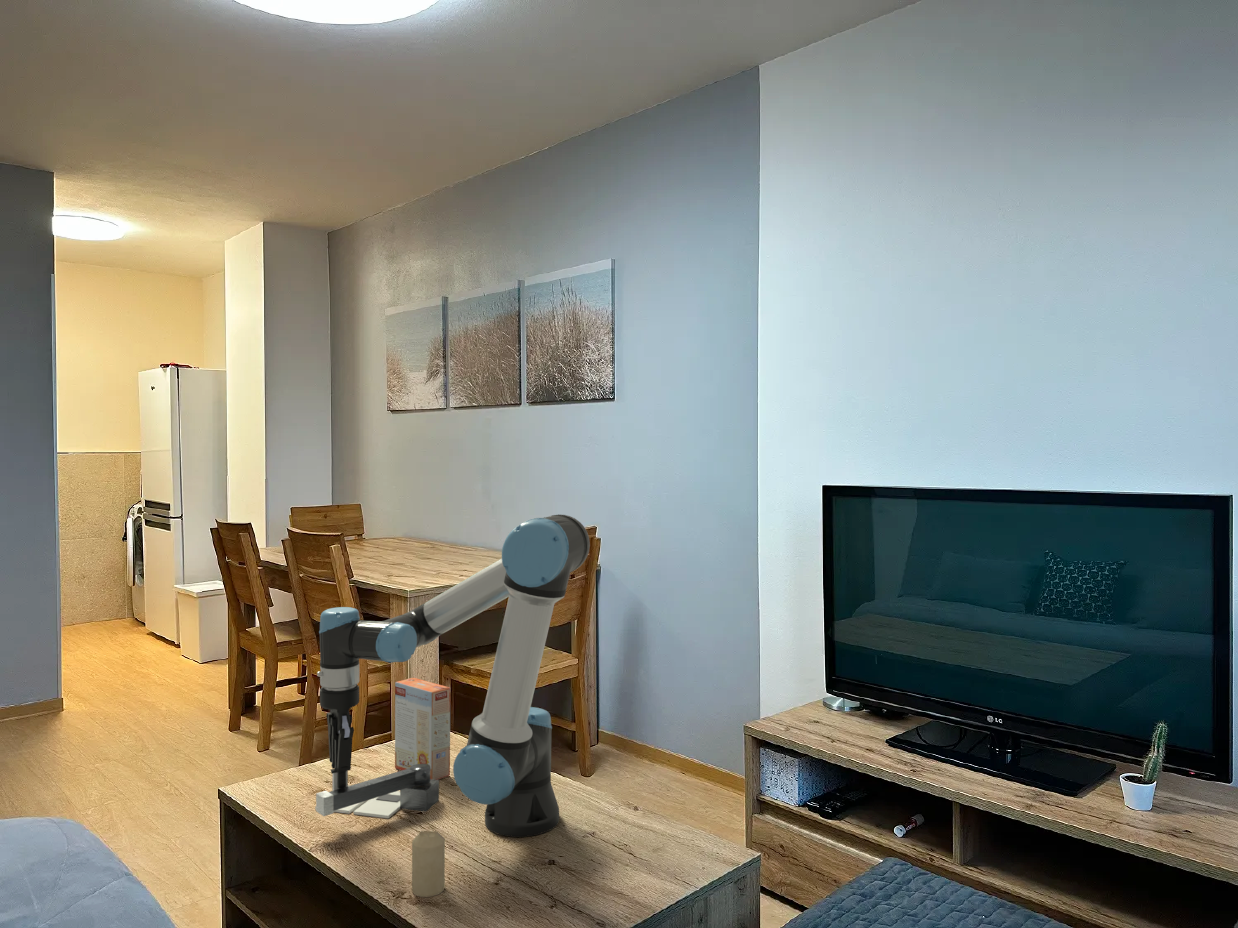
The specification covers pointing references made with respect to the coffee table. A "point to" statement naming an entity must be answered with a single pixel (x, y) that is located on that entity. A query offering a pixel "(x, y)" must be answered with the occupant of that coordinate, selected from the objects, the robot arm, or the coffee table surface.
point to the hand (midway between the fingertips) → (340, 801)
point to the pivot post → (420, 796)
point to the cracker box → (422, 726)
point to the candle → (428, 864)
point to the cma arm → (371, 789)
